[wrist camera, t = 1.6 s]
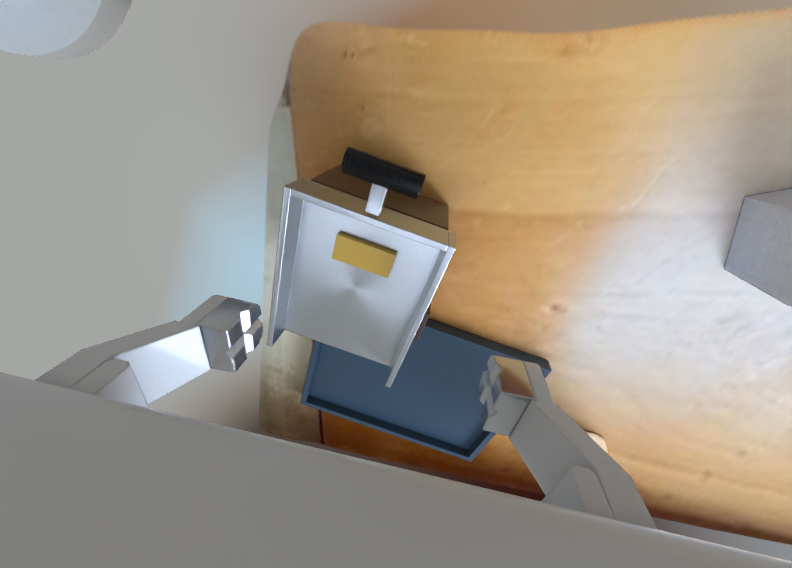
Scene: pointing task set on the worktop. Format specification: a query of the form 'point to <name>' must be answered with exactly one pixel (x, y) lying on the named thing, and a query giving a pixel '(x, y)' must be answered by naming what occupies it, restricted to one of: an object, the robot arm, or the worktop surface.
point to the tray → (413, 388)
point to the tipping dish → (348, 285)
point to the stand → (390, 206)
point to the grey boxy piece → (764, 244)
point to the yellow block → (363, 254)
